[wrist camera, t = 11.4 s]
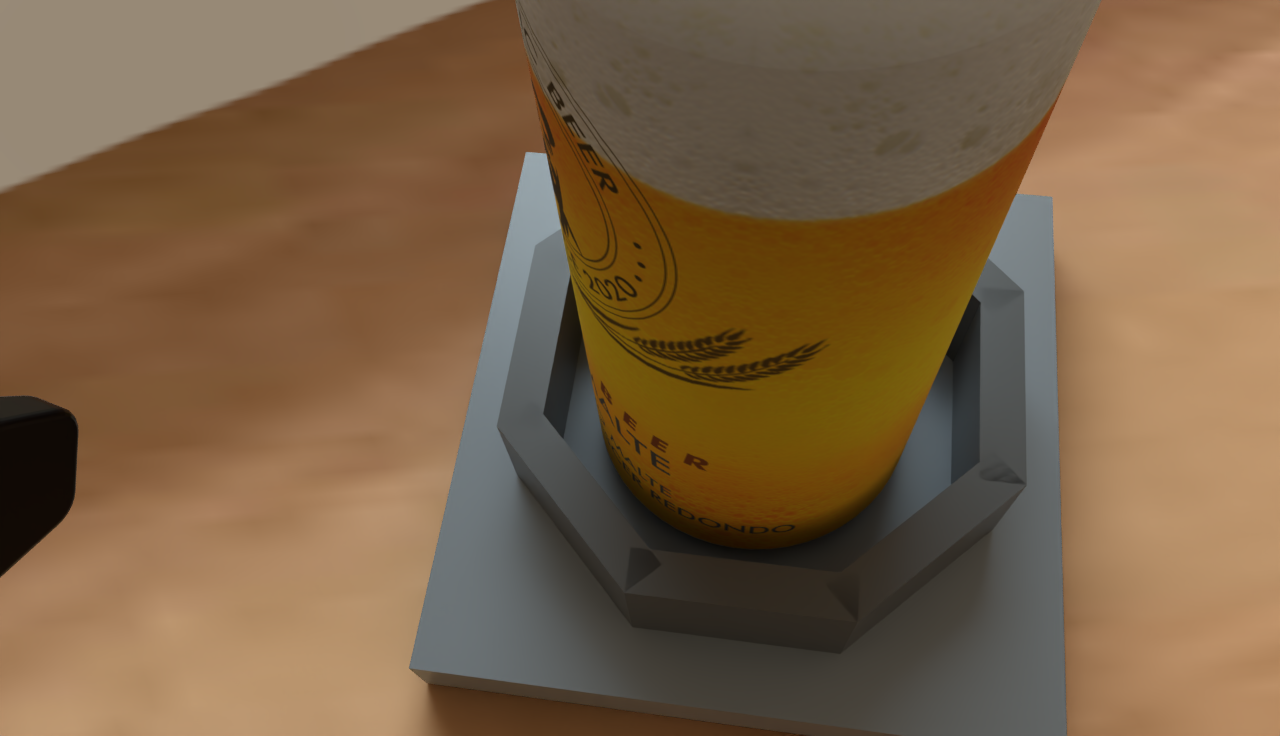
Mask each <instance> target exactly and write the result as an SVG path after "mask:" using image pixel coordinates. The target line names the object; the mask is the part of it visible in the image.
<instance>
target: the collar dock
mask: <svg viewBox="0 0 1280 736" xmlns="http://www.w3.org/2000/svg"><path fill="white" fill-rule="evenodd" d="M409 669H411V670H412V671H413V672H414V673H415V674H416V675H418V676H419V677H420V678H421V679H422V680H424V681H425V682H426V683H430V684H437V685H444V686H451V687H459V688H466V689H473V690H481V691H488V692H495V693H502V694H510V695H517V696H524V697H531V698H539V699H546V700H553V701H560V702H568V703H575V704H582V705H590V706H597V707H604V708H611V709H619V710H626V711H633V712H640V713H648V714H655V715H662V716H670V717H677V718H684V719H691V720H699V721H706V722H713V723H720V724H728V725H735V726H742V727H749V728H757V729H764V730H771V731H779V732H786V733H793V734H800V735H808V736H1067V721H1066V684H1065V647H1064V610H1063V573H1062V537H1061V500H1060V463H1059V426H1058V389H1057V352H1056V315H1055V278H1054V241H1053V204H1052V197H1048V196H1036V195H1024V194H1016V195H1015V198H1014V200H1013V202H1012V205H1011V207H1010V209H1009V211H1008V214H1007V216H1006V218H1005V220H1004V223H1003V225H1002V227H1001V230H1000V232H999V234H998V236H997V239H996V241H995V243H994V245H993V248H992V250H991V252H990V255H989V257H988V259H987V261H986V264H985V266H984V268H983V271H982V273H981V275H980V277H979V280H978V282H977V284H976V286H975V289H974V291H973V293H972V296H971V298H970V300H969V302H968V305H967V307H966V309H965V311H964V314H963V316H962V318H961V321H960V323H959V325H958V327H957V330H956V332H955V334H954V337H953V339H952V341H951V343H950V346H949V348H948V350H947V352H946V355H945V357H944V359H943V362H942V364H941V366H940V368H939V371H938V373H937V375H936V378H935V380H934V382H933V384H932V387H931V389H930V391H929V393H928V396H927V398H926V400H925V403H924V405H923V407H922V409H921V412H920V414H919V416H918V418H917V421H916V423H915V425H914V428H913V430H912V432H911V434H910V437H909V439H908V441H907V444H906V446H905V448H904V450H903V453H902V455H901V457H900V459H899V462H898V464H897V466H896V468H895V470H894V472H893V474H892V476H891V478H890V479H889V481H888V482H887V484H886V485H885V487H884V488H883V489H882V491H881V492H880V493H879V495H878V496H877V497H876V498H875V499H874V500H873V501H872V503H871V504H870V505H869V506H868V507H867V508H865V509H864V510H863V511H862V512H861V513H860V514H859V515H857V516H856V517H855V518H854V519H852V520H851V521H849V522H848V523H846V524H845V525H843V526H842V527H840V528H838V529H836V530H834V531H832V532H830V533H829V534H827V535H825V536H822V537H819V538H817V539H814V540H811V541H809V542H806V543H802V544H798V545H794V546H790V547H783V548H775V549H751V550H750V549H740V548H731V547H726V546H721V545H717V544H712V543H709V542H706V541H703V540H700V539H697V538H694V537H692V536H690V535H688V534H686V533H684V532H681V531H679V530H677V529H676V528H674V527H672V526H671V525H669V524H667V523H666V522H664V521H662V520H661V519H660V518H659V517H657V516H656V515H655V514H653V513H652V512H651V511H650V510H648V509H647V508H646V507H645V506H644V505H643V504H642V503H641V502H640V501H639V500H638V499H637V498H636V497H635V496H634V495H633V493H632V492H631V491H630V490H629V488H628V487H627V486H626V485H625V483H624V482H623V480H622V479H621V477H620V475H619V474H618V472H617V470H616V469H615V467H614V465H613V462H612V460H611V458H610V456H609V454H608V451H607V448H606V445H605V441H604V438H603V434H602V429H601V424H600V419H599V414H598V409H597V404H596V399H595V394H594V389H593V384H592V379H591V374H590V369H589V364H588V359H587V354H586V349H585V344H584V339H583V334H582V329H581V325H580V320H579V315H578V310H577V305H576V300H575V295H574V290H573V285H572V280H571V275H570V270H569V265H568V260H567V255H566V250H565V245H564V240H563V235H562V230H561V225H560V220H559V215H558V210H557V205H556V200H555V195H554V190H553V185H552V180H551V175H550V170H549V165H548V160H547V155H546V154H542V153H531V152H526V155H525V160H524V164H523V169H522V173H521V177H520V182H519V186H518V191H517V195H516V200H515V204H514V208H513V213H512V217H511V222H510V226H509V230H508V235H507V239H506V244H505V248H504V252H503V257H502V261H501V266H500V270H499V274H498V279H497V283H496V288H495V292H494V296H493V301H492V305H491V310H490V314H489V318H488V323H487V327H486V332H485V336H484V340H483V345H482V349H481V354H480V358H479V362H478V367H477V371H476V376H475V380H474V384H473V389H472V393H471V398H470V402H469V406H468V411H467V415H466V420H465V424H464V428H463V433H462V437H461V442H460V446H459V450H458V455H457V459H456V464H455V468H454V472H453V477H452V481H451V486H450V490H449V494H448V499H447V503H446V508H445V512H444V516H443V521H442V525H441V530H440V534H439V538H438V543H437V547H436V552H435V556H434V561H433V565H432V569H431V574H430V578H429V583H428V587H427V591H426V596H425V600H424V605H423V609H422V613H421V618H420V622H419V627H418V631H417V635H416V640H415V644H414V649H413V653H412V657H411V662H410V666H409Z"/></svg>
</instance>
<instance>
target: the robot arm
mask: <svg viewBox="0 0 1280 736" xmlns="http://www.w3.org/2000/svg"><path fill="white" fill-rule="evenodd" d="M77 451H78V424H77V421H76V418H75V416H74V415H73V414H72V413H71V412H70V411H69V410H67V409H64V408H62V407H59V406H57V405H54V404H52V403H49V402H47V401H44V400H42V399H39V398H37V397H32V396H7V397H0V577H1V576H2V575H4V574H5V573H6V572H7V571H8V570H9V569H10V568H11V567H12V566H14V565H15V564H16V563H17V562H18V561H19V560H20V559H21V558H22V557H23V556H25V555H26V554H27V553H28V552H29V551H30V550H31V549H32V548H33V547H34V546H36V545H37V544H38V543H39V542H40V541H41V540H42V539H43V538H44V537H45V536H47V535H48V534H49V533H50V532H51V531H52V530H53V529H54V528H55V527H56V526H58V525H59V524H60V523H61V522H62V520H63V519H64V518H65V516H66V515H67V514H68V512H69V510H70V508H71V506H72V504H73V501H74V498H75V490H76V471H77Z"/></svg>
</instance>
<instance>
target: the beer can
mask: <svg viewBox="0 0 1280 736" xmlns="http://www.w3.org/2000/svg"><path fill="white" fill-rule="evenodd" d="M515 1H516V6H517V11H518V16H519V21H520V26H521V31H522V36H523V41H524V46H525V51H526V56H527V61H528V66H529V71H530V76H531V81H532V85H533V90H534V95H535V100H536V105H537V110H538V115H539V120H540V125H541V130H542V135H543V140H544V145H545V150H546V155H547V160H548V165H549V170H550V175H551V180H552V185H553V190H554V195H555V200H556V205H557V210H558V215H559V220H560V225H561V230H562V235H563V240H564V245H565V250H566V255H567V260H568V265H569V270H570V275H571V280H572V285H573V290H574V295H575V300H576V305H577V310H578V315H579V320H580V325H581V329H582V334H583V339H584V344H585V349H586V354H587V359H588V364H589V369H590V374H591V379H592V384H593V389H594V394H595V399H596V404H597V409H598V414H599V419H600V424H601V429H602V434H603V438H604V441H605V445H606V448H607V451H608V454H609V456H610V458H611V460H612V462H613V465H614V467H615V469H616V470H617V472H618V474H619V475H620V477H621V479H622V480H623V482H624V483H625V485H626V486H627V487H628V488H629V490H630V491H631V492H632V493H633V495H634V496H635V497H636V498H637V499H638V500H639V501H640V502H641V503H642V504H643V505H644V506H645V507H646V508H647V509H648V510H650V511H651V512H652V513H653V514H655V515H656V516H657V517H659V518H660V519H661V520H662V521H664V522H666V523H667V524H669V525H671V526H672V527H674V528H676V529H677V530H679V531H681V532H684V533H686V534H688V535H690V536H692V537H694V538H697V539H700V540H703V541H706V542H709V543H712V544H717V545H721V546H726V547H731V548H740V549H750V550H751V549H775V548H783V547H790V546H794V545H798V544H802V543H806V542H809V541H811V540H814V539H817V538H819V537H822V536H825V535H827V534H829V533H830V532H832V531H834V530H836V529H838V528H840V527H842V526H843V525H845V524H846V523H848V522H849V521H851V520H852V519H854V518H855V517H856V516H857V515H859V514H860V513H861V512H862V511H863V510H864V509H865V508H867V507H868V506H869V505H870V504H871V503H872V501H873V500H874V499H875V498H876V497H877V496H878V495H879V493H880V492H881V491H882V489H883V488H884V487H885V485H886V484H887V482H888V481H889V479H890V478H891V476H892V474H893V472H894V470H895V468H896V466H897V464H898V462H899V459H900V457H901V455H902V453H903V450H904V448H905V446H906V444H907V441H908V439H909V437H910V434H911V432H912V430H913V428H914V425H915V423H916V421H917V418H918V416H919V414H920V412H921V409H922V407H923V405H924V403H925V400H926V398H927V396H928V393H929V391H930V389H931V387H932V384H933V382H934V380H935V378H936V375H937V373H938V371H939V368H940V366H941V364H942V362H943V359H944V357H945V355H946V352H947V350H948V348H949V346H950V343H951V341H952V339H953V337H954V334H955V332H956V330H957V327H958V325H959V323H960V321H961V318H962V316H963V314H964V311H965V309H966V307H967V305H968V302H969V300H970V298H971V296H972V293H973V291H974V289H975V286H976V284H977V282H978V280H979V277H980V275H981V273H982V271H983V268H984V266H985V264H986V261H987V259H988V257H989V255H990V252H991V250H992V248H993V245H994V243H995V241H996V239H997V236H998V234H999V232H1000V230H1001V227H1002V225H1003V223H1004V220H1005V218H1006V216H1007V214H1008V211H1009V209H1010V207H1011V205H1012V202H1013V200H1014V198H1015V195H1016V193H1017V191H1018V189H1019V186H1020V184H1021V182H1022V179H1023V177H1024V175H1025V173H1026V170H1027V168H1028V166H1029V164H1030V161H1031V159H1032V157H1033V154H1034V152H1035V150H1036V148H1037V145H1038V143H1039V141H1040V139H1041V136H1042V134H1043V132H1044V129H1045V127H1046V125H1047V123H1048V120H1049V118H1050V116H1051V113H1052V111H1053V109H1054V107H1055V104H1056V102H1057V100H1058V98H1059V95H1060V93H1061V91H1062V88H1063V86H1064V84H1065V82H1066V79H1067V77H1068V75H1069V73H1070V70H1071V68H1072V66H1073V63H1074V61H1075V59H1076V57H1077V54H1078V52H1079V50H1080V47H1081V45H1082V43H1083V41H1084V38H1085V36H1086V34H1087V32H1088V29H1089V27H1090V25H1091V22H1092V20H1093V18H1094V16H1095V13H1096V11H1097V9H1098V7H1099V4H1100V2H1101V0H515Z"/></svg>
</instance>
